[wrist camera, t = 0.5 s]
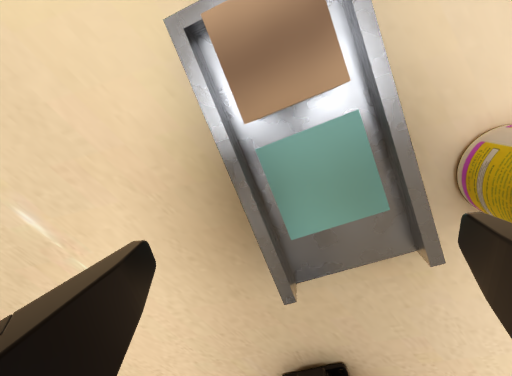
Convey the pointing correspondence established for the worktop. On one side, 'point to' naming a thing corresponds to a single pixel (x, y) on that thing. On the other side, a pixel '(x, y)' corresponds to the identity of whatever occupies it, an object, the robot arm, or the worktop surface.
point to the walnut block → (275, 52)
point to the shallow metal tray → (318, 157)
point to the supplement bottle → (489, 173)
